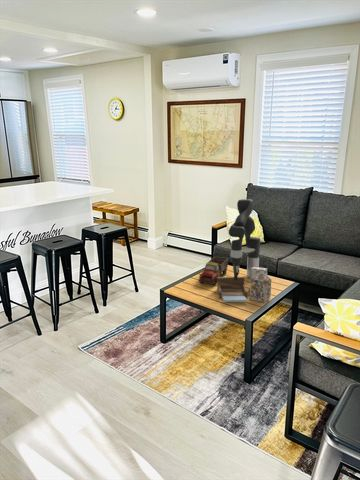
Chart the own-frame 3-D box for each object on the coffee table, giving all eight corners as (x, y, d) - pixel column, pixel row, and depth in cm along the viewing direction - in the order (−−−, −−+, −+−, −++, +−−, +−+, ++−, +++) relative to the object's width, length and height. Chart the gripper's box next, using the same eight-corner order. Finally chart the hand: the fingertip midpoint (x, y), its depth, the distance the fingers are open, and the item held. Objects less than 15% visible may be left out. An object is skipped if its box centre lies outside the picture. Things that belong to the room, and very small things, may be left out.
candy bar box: (266, 288, 281) (267, 268, 276) (264, 291, 277) (265, 270, 272) (252, 286, 286) (253, 266, 281) (250, 288, 282) (251, 268, 277)
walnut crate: (217, 289, 281) (217, 277, 278) (244, 289, 280) (244, 276, 278) (219, 298, 265) (219, 285, 262) (247, 298, 265) (248, 285, 262)
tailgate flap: (222, 296, 264) (223, 300, 254) (244, 295, 264) (247, 299, 254) (222, 297, 265) (223, 301, 255) (244, 297, 264) (247, 301, 254)
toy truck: (197, 284, 291) (197, 266, 287) (214, 270, 321) (214, 253, 317) (214, 287, 284) (214, 269, 280) (230, 272, 314) (230, 256, 310)
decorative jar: (265, 303, 257) (266, 278, 252) (249, 299, 263) (250, 275, 258) (271, 296, 267) (272, 273, 262) (255, 293, 273) (256, 270, 268)
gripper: (229, 252, 255) (229, 276, 260) (231, 259, 243) (231, 283, 247) (240, 252, 255) (239, 276, 260) (243, 258, 242) (242, 283, 247)
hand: (235, 279), depth 254 cm, fingers closed
